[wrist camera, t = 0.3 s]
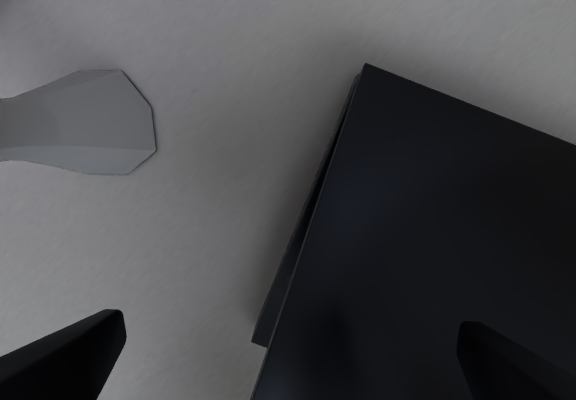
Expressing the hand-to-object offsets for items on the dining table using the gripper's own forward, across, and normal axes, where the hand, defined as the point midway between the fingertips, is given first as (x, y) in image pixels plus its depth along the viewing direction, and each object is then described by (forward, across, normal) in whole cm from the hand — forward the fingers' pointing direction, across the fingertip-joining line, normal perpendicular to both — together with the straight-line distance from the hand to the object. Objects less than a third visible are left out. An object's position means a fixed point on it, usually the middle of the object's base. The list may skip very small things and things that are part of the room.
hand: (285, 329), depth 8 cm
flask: (+14, +13, -5) cm, 20 cm away
